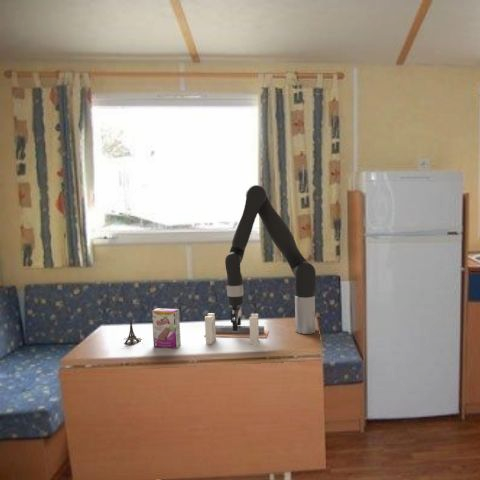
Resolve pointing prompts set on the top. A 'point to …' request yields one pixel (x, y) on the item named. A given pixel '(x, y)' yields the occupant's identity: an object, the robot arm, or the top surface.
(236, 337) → the mat
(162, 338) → the candy bar box
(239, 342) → the top surface
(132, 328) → the eiffel tower figurine
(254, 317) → the stands
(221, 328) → the rail
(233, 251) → the robot arm
